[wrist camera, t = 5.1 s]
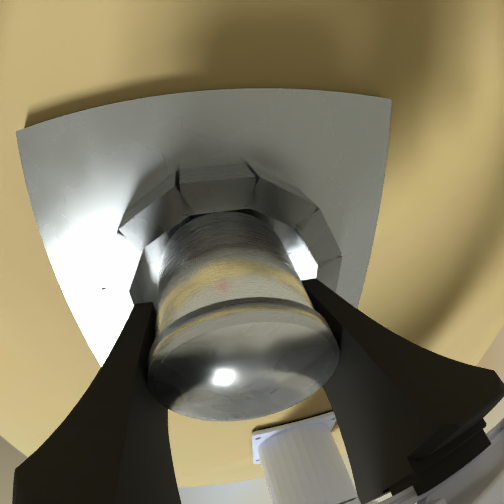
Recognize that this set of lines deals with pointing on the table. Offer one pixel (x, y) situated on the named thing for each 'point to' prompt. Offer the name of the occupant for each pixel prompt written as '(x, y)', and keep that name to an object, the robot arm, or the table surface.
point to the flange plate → (203, 187)
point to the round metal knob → (235, 324)
